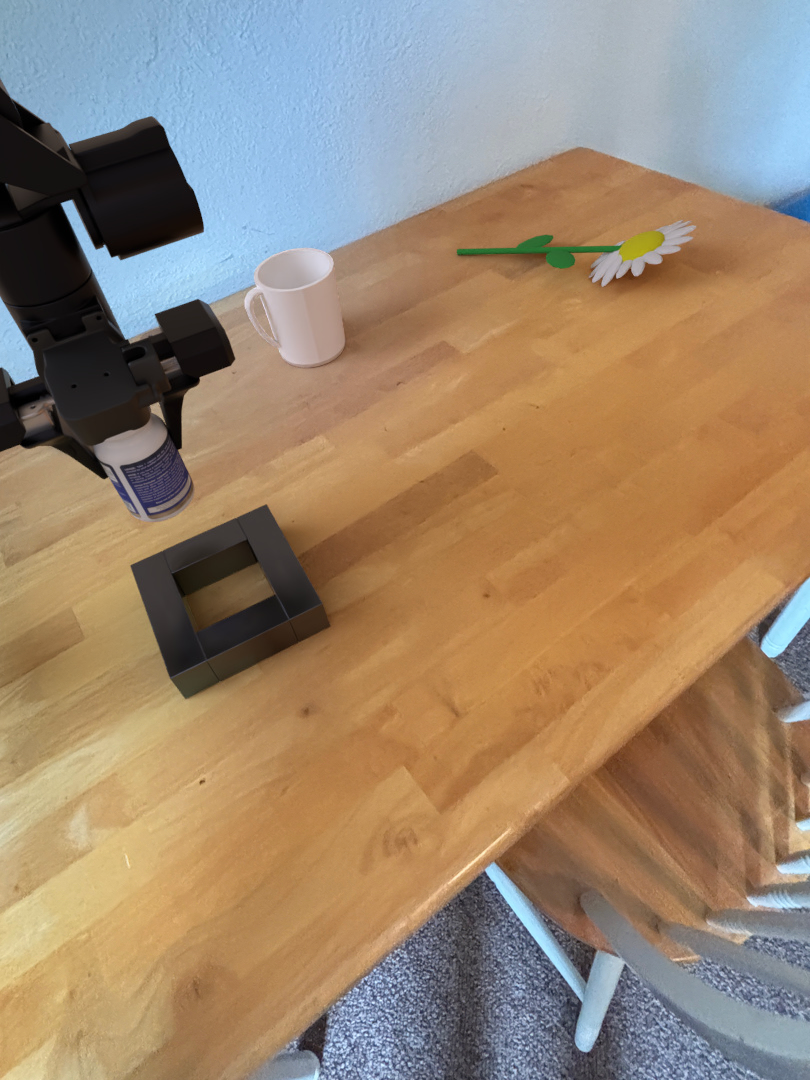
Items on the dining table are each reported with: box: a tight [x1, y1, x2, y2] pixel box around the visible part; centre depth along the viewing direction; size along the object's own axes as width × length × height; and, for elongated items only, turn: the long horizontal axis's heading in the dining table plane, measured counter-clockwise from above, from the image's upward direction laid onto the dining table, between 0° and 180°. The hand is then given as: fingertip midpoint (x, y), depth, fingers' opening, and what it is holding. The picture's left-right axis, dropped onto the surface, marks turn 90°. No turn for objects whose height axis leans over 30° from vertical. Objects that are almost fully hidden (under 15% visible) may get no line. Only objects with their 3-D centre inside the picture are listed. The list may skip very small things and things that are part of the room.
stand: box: [129, 504, 332, 700], centre depth 61 cm, size 13×13×4 cm
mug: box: [244, 247, 347, 369], centre depth 81 cm, size 11×9×10 cm
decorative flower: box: [456, 219, 698, 288], centre depth 89 cm, size 13×5×30 cm
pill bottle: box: [93, 405, 195, 523], centre depth 56 cm, size 6×6×10 cm
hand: (141, 461), depth 56 cm, fingers closed on pill bottle, 6 cm apart
